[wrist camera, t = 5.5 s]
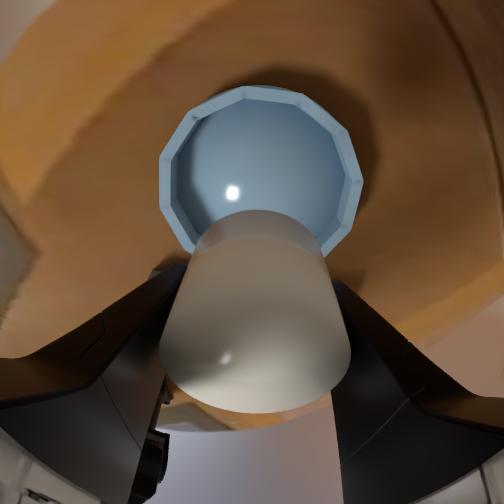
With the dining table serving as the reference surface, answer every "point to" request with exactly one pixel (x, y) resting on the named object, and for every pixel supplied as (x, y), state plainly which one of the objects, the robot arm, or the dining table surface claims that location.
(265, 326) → the white marshmallow
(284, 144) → the blue ring
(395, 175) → the dining table surface
